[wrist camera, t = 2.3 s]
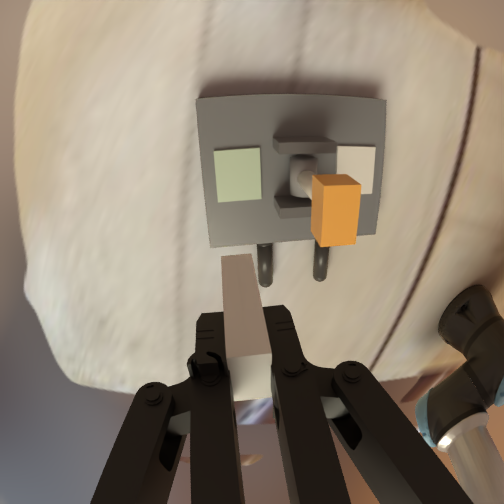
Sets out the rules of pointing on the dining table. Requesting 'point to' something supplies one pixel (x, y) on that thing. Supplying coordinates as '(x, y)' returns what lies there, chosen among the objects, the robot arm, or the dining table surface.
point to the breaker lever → (327, 201)
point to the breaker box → (284, 165)
